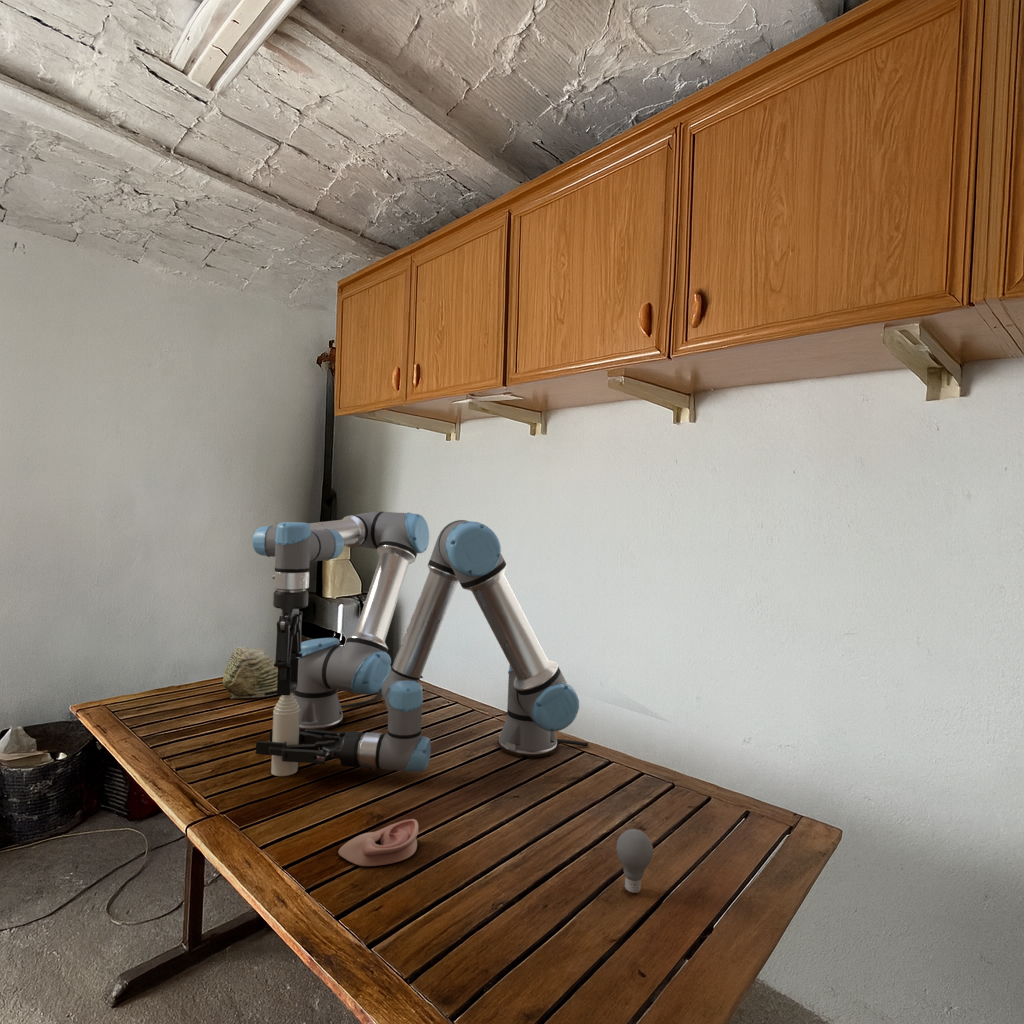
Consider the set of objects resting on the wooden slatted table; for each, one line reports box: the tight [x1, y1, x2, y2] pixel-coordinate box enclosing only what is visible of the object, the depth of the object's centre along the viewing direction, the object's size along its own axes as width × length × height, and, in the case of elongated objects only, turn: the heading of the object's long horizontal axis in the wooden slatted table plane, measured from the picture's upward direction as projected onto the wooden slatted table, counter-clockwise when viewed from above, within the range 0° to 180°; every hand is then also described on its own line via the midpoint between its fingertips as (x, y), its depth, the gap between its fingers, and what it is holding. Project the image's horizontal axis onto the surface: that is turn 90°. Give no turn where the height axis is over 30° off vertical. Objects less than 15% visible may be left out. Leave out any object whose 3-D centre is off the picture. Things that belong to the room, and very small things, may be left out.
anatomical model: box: [337, 818, 419, 867], centre depth 114 cm, size 13×4×12 cm
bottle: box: [270, 692, 300, 777], centre depth 145 cm, size 6×6×20 cm
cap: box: [290, 681, 297, 694], centre depth 145 cm, size 4×4×2 cm
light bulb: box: [615, 828, 654, 894], centre depth 106 cm, size 6×6×10 cm
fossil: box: [222, 646, 278, 699], centre depth 198 cm, size 9×18×15 cm, turn 132°
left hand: (287, 690), depth 145 cm, fingers open, 6 cm apart
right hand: (264, 741), depth 146 cm, fingers closed on bottle, 6 cm apart
